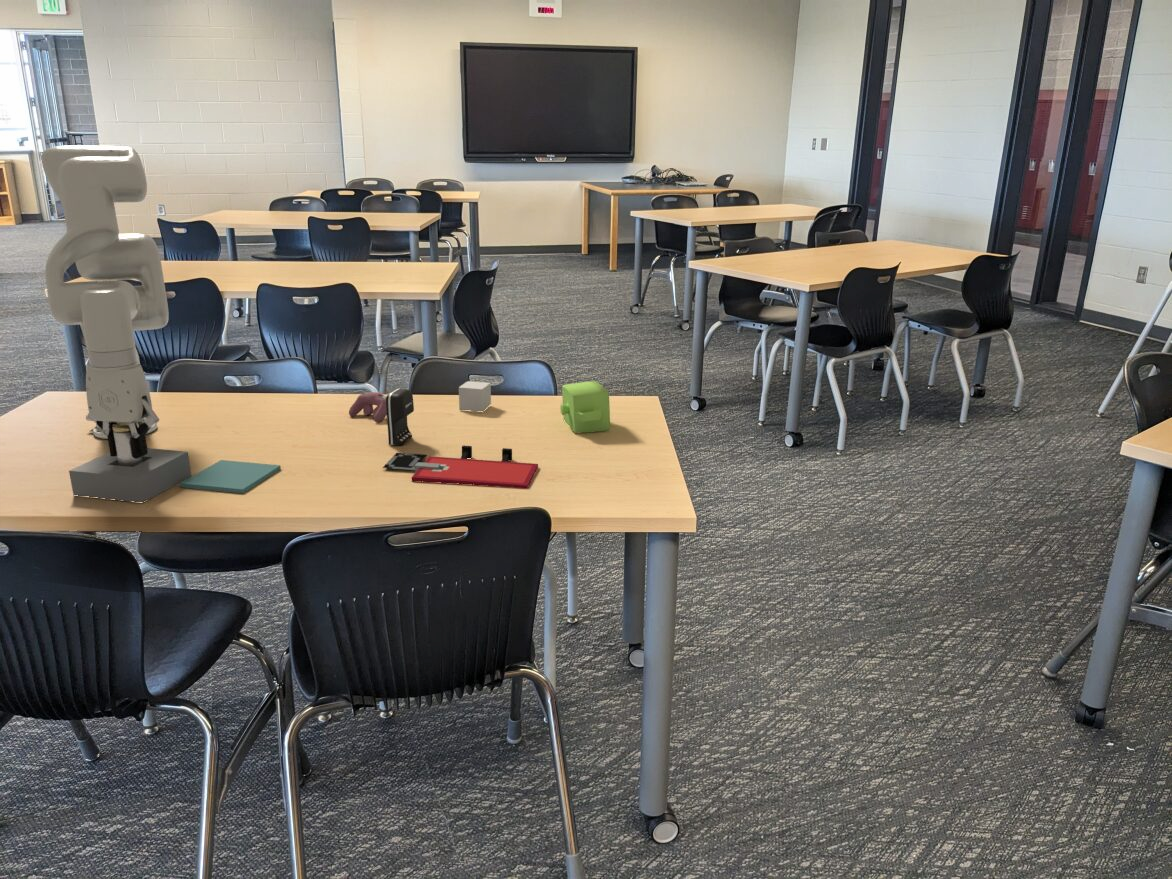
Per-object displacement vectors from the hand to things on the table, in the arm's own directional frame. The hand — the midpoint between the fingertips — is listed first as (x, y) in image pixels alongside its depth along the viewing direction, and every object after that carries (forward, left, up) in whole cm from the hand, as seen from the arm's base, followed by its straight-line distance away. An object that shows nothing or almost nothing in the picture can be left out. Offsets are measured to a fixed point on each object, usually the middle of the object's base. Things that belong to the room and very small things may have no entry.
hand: (129, 454), depth 160 cm
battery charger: (+38, +36, -7) cm, 53 cm away
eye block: (0, 0, -6) cm, 6 cm away
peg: (0, 0, -6) cm, 6 cm away
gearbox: (+73, +57, -7) cm, 93 cm away
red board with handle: (+56, +23, -7) cm, 61 cm away
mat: (+15, +8, -6) cm, 18 cm away
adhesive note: (+45, +64, -7) cm, 79 cm away
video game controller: (+24, +51, -7) cm, 57 cm away
